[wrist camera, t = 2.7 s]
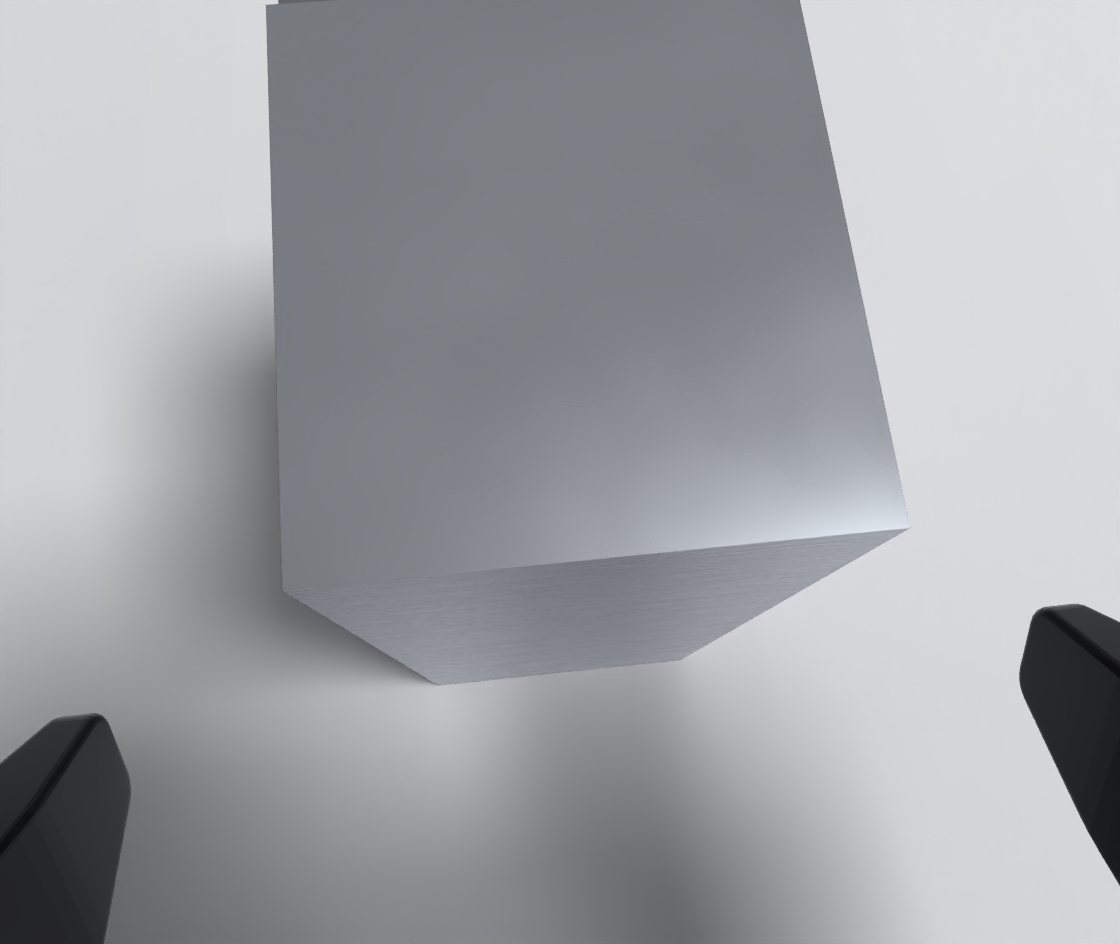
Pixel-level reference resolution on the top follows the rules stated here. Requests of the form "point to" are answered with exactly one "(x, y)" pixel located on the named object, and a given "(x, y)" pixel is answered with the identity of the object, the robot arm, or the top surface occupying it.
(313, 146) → the jaw
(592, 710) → the top surface
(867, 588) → the top surface
